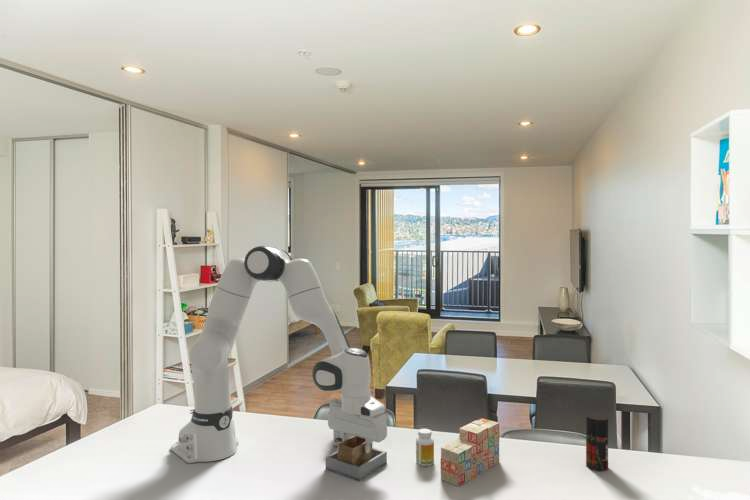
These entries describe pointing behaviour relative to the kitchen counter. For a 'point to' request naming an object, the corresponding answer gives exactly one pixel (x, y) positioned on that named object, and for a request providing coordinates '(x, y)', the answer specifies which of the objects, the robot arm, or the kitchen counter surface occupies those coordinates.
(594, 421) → the deodorant
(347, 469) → the grey square tray
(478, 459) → the stack of blocks
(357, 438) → the small crate
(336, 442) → the light bulb box
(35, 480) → the kitchen counter surface
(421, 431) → the supplement bottle
